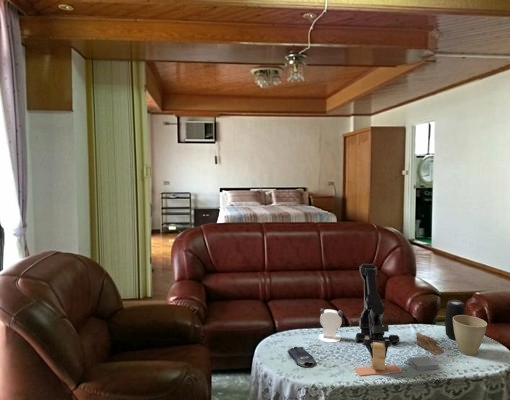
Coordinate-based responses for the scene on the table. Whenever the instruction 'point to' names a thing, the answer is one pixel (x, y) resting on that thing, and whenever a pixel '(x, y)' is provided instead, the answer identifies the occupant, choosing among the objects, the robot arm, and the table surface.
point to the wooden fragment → (428, 344)
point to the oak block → (378, 356)
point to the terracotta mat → (377, 370)
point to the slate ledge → (423, 363)
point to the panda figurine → (330, 325)
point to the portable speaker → (452, 310)
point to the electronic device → (301, 356)
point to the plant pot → (469, 333)
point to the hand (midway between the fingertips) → (378, 358)
